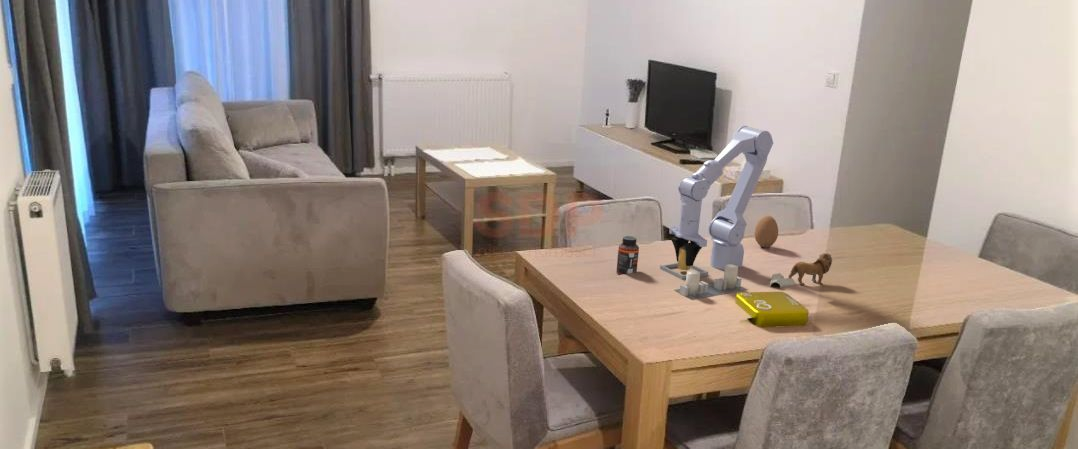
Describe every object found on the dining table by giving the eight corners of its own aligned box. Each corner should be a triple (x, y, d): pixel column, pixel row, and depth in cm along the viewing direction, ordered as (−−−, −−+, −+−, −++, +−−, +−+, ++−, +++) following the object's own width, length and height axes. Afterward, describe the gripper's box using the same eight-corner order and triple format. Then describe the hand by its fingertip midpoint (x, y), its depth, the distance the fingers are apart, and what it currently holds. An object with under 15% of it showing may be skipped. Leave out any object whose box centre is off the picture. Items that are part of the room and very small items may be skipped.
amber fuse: (683, 265, 255) (686, 244, 253) (692, 269, 252) (694, 247, 250) (674, 267, 253) (677, 245, 251) (683, 270, 250) (685, 249, 248)
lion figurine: (821, 278, 259) (825, 250, 257) (833, 284, 254) (837, 255, 252) (781, 282, 254) (785, 253, 251) (792, 288, 249) (797, 259, 247)
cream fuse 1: (691, 290, 238) (694, 269, 236) (700, 294, 235) (702, 273, 233) (681, 292, 236) (684, 271, 234) (690, 296, 233) (692, 275, 232)
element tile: (809, 327, 222) (812, 310, 221) (756, 329, 219) (758, 311, 217) (782, 305, 236) (784, 289, 235) (731, 306, 233) (733, 290, 232)
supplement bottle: (635, 279, 249) (638, 241, 246) (615, 276, 250) (618, 239, 247) (637, 272, 255) (640, 236, 251) (617, 270, 256) (620, 233, 253)
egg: (780, 247, 288) (784, 216, 285) (769, 252, 282) (773, 220, 279) (759, 242, 292) (763, 211, 289) (748, 246, 287) (752, 215, 284)
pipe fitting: (793, 288, 250) (770, 283, 252) (796, 276, 249) (773, 271, 251) (792, 297, 243) (768, 291, 245) (795, 285, 242) (770, 279, 244)
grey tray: (685, 269, 260) (686, 261, 259) (707, 279, 252) (708, 271, 251) (659, 273, 255) (660, 265, 254) (681, 284, 247) (682, 276, 246)
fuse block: (727, 285, 248) (728, 272, 247) (746, 294, 241) (748, 281, 240) (672, 295, 238) (673, 281, 237) (691, 305, 231) (692, 291, 230)
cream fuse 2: (729, 283, 245) (732, 263, 243) (738, 287, 242) (740, 267, 240) (720, 285, 243) (722, 265, 242) (728, 289, 240) (731, 269, 239)
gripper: (663, 213, 252) (658, 257, 256) (695, 227, 240) (690, 272, 244) (681, 211, 256) (677, 254, 260) (714, 224, 244) (709, 269, 248)
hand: (684, 263), depth 252 cm, fingers closed on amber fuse, 4 cm apart
